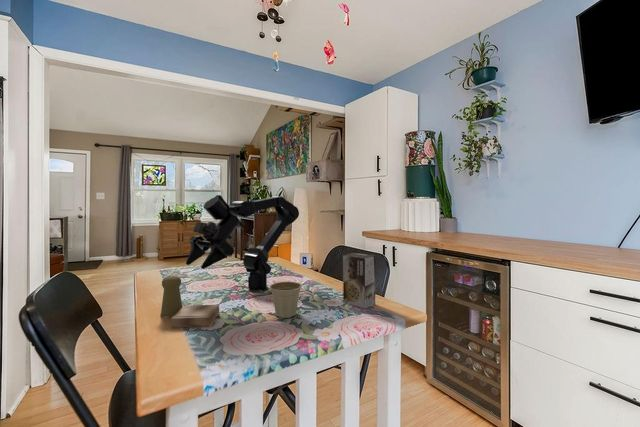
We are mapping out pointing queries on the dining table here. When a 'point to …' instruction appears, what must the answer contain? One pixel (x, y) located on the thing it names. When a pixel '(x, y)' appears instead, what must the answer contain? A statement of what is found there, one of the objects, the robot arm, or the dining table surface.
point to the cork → (171, 296)
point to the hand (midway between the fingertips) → (194, 266)
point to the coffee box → (359, 279)
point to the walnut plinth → (195, 316)
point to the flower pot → (285, 298)
